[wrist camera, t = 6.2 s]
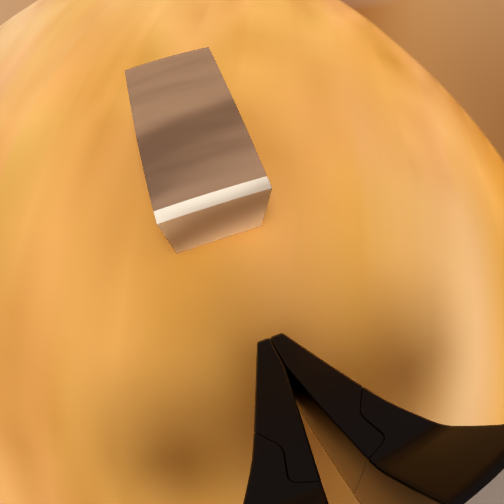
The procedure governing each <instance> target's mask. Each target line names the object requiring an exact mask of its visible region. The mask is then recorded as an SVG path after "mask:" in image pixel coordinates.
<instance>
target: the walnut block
mask: <svg viewBox="0 0 504 504" xmlns="http://www.w3.org/2000/svg"><path fill="white" fill-rule="evenodd" d="M125 74H126V81H127V87H128V93H129V99H130V105H131V110H132V116H133V121H134V126H135V131H136V136H137V141H138V146H139V151H140V156H141V160H142V165H143V169H144V174H145V178H146V182H147V187H148V191H149V195H150V199H151V203H152V207H153V211H154V215H155V219H156V223H157V225H158V227H159V228H160V230H161V231H162V233H163V234H164V235H165V237H166V238H167V240H168V241H169V243H170V244H171V246H172V247H173V249H174V250H175V252H176V253H180V252H183V251H186V250H189V249H192V248H195V247H198V246H201V245H204V244H207V243H210V242H213V241H216V240H220V239H223V238H226V237H229V236H232V235H235V234H238V233H241V232H244V231H247V230H251V229H254V228H257V227H260V226H261V225H262V222H263V218H264V215H265V211H266V208H267V204H268V200H269V197H270V193H271V190H272V187H271V185H270V182H269V180H268V177H267V175H266V173H265V170H264V168H263V166H262V163H261V161H260V159H259V156H258V154H257V152H256V149H255V147H254V145H253V143H252V140H251V138H250V136H249V133H248V131H247V129H246V127H245V124H244V122H243V120H242V118H241V116H240V113H239V111H238V109H237V107H236V104H235V102H234V100H233V98H232V96H231V94H230V91H229V89H228V87H227V85H226V83H225V81H224V78H223V76H222V74H221V72H220V70H219V68H218V66H217V64H216V62H215V59H214V57H213V55H212V53H211V51H210V49H209V47H207V48H202V49H198V50H193V51H189V52H185V53H181V54H177V55H174V56H170V57H166V58H163V59H159V60H156V61H152V62H149V63H146V64H143V65H140V66H136V67H133V68H131V69H128V70H125Z"/></svg>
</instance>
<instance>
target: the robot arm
mask: <svg viewBox="0 0 504 504" xmlns="http://www.w3.org/2000/svg"><path fill="white" fill-rule="evenodd" d="M298 408H299V409H298ZM299 410H300V411H301V413H302V414H303V416H304V418H305V419H306V421H307V422H308V424H309V426H310V427H311V429H312V431H313V432H314V434H315V435H316V437H317V438H318V440H319V442H320V443H321V445H322V446H323V448H324V450H325V451H326V453H327V454H328V456H329V457H330V459H331V460H332V462H333V464H334V465H335V467H336V468H337V470H338V471H339V473H340V474H341V476H342V477H343V479H344V480H345V482H346V483H347V485H348V486H349V488H350V489H351V491H352V492H353V494H354V496H355V497H356V498H357V500H358V501H359V503H360V504H504V424H502V425H486V426H448V425H443V424H439V423H436V422H433V421H430V420H428V419H426V418H423V417H421V416H419V415H416V414H414V413H412V412H409V411H407V410H405V409H403V408H400V407H398V406H396V405H394V404H392V403H390V402H388V401H386V400H384V399H382V398H381V397H379V396H377V395H376V394H374V393H372V392H371V391H369V390H368V389H366V388H364V387H363V388H362V386H361V385H360V384H358V383H356V382H355V381H353V380H352V379H350V378H349V377H347V376H346V375H344V374H343V373H341V372H339V371H338V370H336V369H335V368H333V367H332V366H330V365H329V364H327V363H326V362H324V361H323V360H321V359H320V358H318V357H317V356H315V355H314V354H312V353H311V352H309V351H308V350H306V349H305V348H304V347H302V346H301V345H299V344H298V343H296V342H295V341H293V340H292V339H290V338H289V337H287V336H286V335H285V334H283V333H280V334H277V335H275V336H272V337H271V338H270V339H269V338H267V339H264V340H261V341H259V342H258V343H257V360H256V389H255V417H254V439H253V454H252V463H251V469H250V475H249V480H248V485H247V489H246V494H245V499H244V503H243V504H329V503H328V501H327V498H326V495H325V492H324V489H323V486H322V483H321V479H320V476H319V473H318V470H317V467H316V464H315V460H314V457H313V454H312V451H311V448H310V444H309V441H308V438H307V435H306V432H305V428H304V425H303V422H302V419H301V416H300V412H299Z"/></svg>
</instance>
